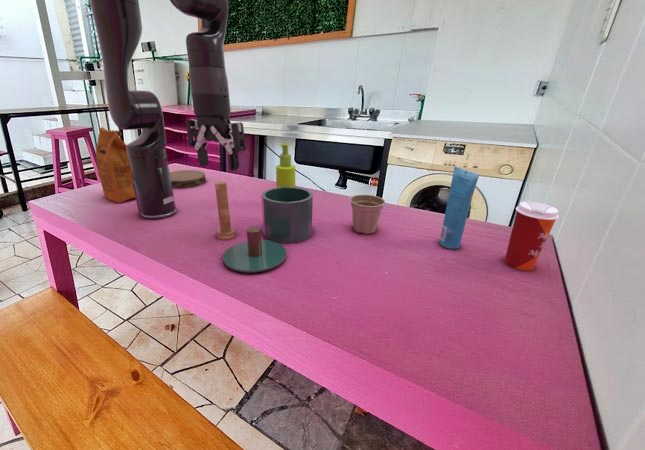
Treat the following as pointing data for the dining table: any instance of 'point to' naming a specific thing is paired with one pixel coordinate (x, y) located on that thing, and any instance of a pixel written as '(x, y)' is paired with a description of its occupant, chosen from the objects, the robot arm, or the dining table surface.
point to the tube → (457, 207)
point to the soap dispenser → (285, 169)
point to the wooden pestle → (223, 212)
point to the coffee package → (114, 166)
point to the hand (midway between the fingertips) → (219, 167)
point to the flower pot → (366, 212)
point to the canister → (287, 214)
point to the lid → (254, 253)
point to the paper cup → (529, 234)
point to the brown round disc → (187, 179)
